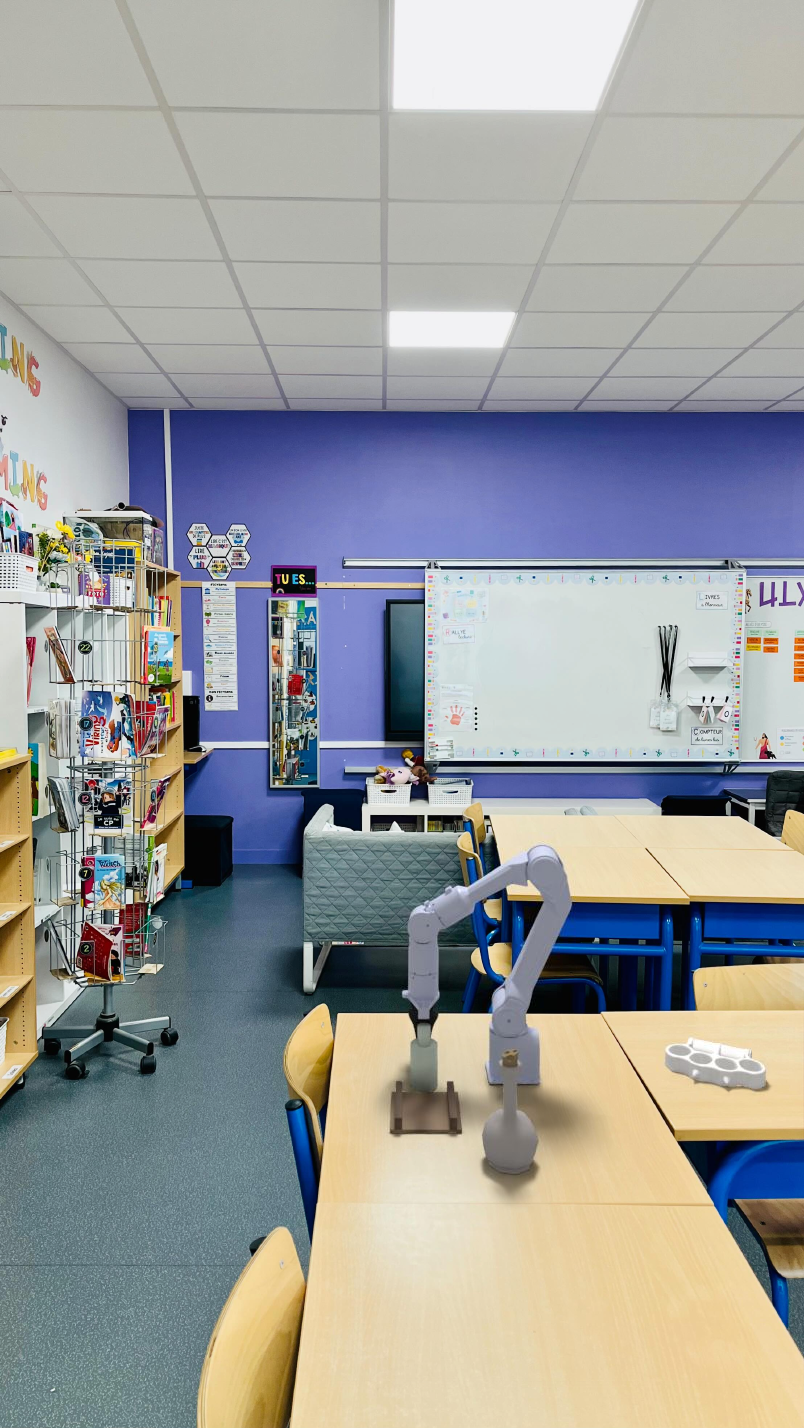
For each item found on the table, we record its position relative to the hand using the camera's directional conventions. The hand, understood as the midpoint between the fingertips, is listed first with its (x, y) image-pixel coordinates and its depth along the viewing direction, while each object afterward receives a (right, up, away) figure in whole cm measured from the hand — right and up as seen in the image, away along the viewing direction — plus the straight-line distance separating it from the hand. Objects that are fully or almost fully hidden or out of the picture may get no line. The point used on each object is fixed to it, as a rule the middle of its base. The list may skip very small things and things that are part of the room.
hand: (423, 1039), depth 160 cm
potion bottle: (+13, -8, -28) cm, 32 cm away
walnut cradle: (0, -7, -15) cm, 16 cm away
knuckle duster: (+56, -7, 0) cm, 56 cm away
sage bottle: (0, -6, -5) cm, 8 cm away
